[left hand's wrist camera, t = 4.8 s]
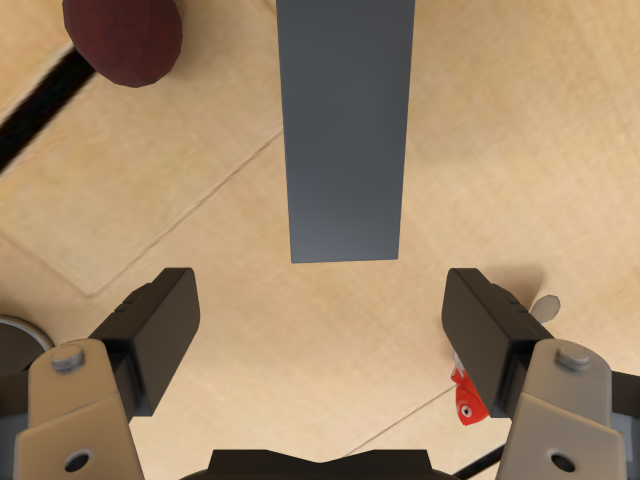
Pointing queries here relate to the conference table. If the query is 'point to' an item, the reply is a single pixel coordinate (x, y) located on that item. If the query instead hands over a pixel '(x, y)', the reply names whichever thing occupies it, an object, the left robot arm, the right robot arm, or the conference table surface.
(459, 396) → the fish
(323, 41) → the bar
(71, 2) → the potato
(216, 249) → the conference table surface
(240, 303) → the conference table surface
